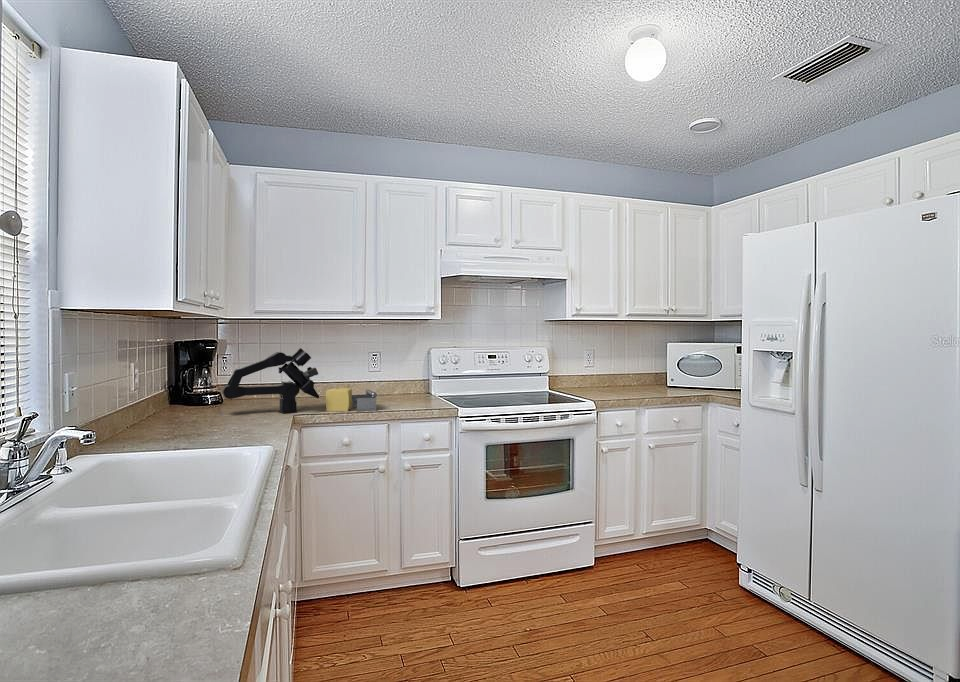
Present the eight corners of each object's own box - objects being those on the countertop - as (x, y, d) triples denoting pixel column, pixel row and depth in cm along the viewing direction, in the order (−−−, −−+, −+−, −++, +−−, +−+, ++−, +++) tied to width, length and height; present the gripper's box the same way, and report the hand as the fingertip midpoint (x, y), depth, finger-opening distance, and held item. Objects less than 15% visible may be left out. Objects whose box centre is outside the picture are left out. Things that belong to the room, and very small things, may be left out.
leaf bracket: (357, 411, 272) (357, 393, 272) (350, 407, 288) (350, 389, 288) (377, 410, 276) (377, 392, 276) (369, 406, 292) (369, 389, 291)
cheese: (330, 408, 283) (330, 387, 283) (353, 408, 283) (353, 387, 283) (325, 411, 272) (325, 390, 272) (348, 411, 272) (348, 390, 272)
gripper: (310, 362, 263) (334, 387, 267) (305, 360, 280) (328, 383, 285) (291, 380, 260) (316, 404, 264) (287, 376, 277) (311, 400, 282)
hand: (318, 397), depth 274 cm, fingers closed
